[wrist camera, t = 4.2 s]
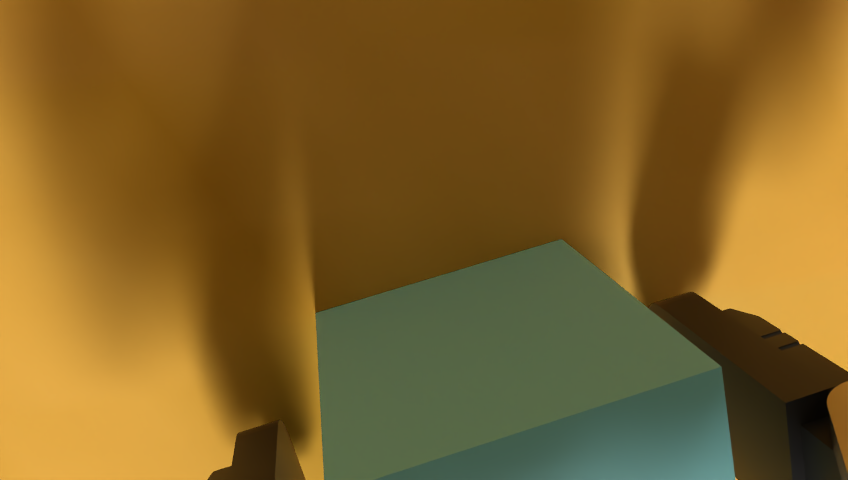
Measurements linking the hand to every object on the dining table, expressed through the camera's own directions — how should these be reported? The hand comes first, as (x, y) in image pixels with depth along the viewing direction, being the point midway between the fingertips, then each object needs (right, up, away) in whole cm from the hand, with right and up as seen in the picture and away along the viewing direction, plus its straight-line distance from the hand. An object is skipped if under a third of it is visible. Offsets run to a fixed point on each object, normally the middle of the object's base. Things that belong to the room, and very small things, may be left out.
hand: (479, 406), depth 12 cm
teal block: (0, 0, +1) cm, 1 cm away
